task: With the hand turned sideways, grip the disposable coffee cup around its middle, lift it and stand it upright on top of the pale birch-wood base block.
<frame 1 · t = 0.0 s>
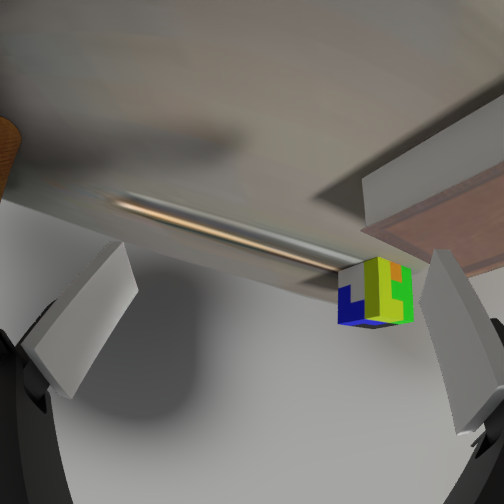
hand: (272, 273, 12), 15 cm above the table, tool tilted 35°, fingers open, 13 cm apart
puzzle toy: (375, 269, 55), on the table
disposable coffee cup: (2, 130, 25), on the table
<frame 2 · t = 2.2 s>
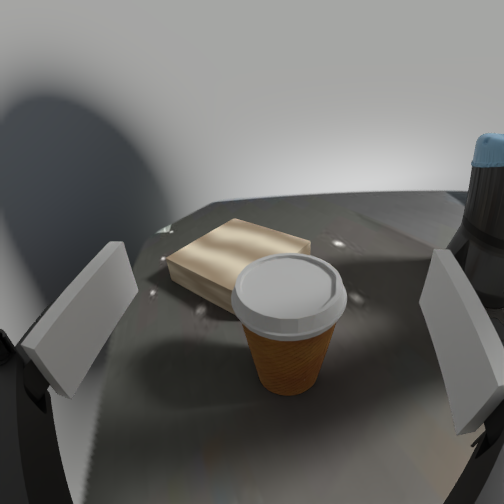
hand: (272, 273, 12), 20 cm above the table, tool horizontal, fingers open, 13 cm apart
disposable coffee cup: (288, 372, 31), on the table
wooden base block: (240, 272, 47), on the table
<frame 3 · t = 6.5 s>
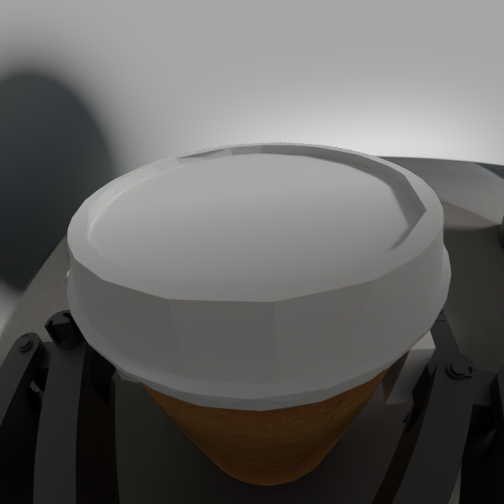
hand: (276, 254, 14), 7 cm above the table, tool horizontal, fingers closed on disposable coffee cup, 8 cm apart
disposable coffee cup: (268, 430, 13), on the table, touching gripper
when the fingers open (12 cm above the table, at t = 11.8 s): disposable coffee cup drops 1 cm, point 4 cm above the table.
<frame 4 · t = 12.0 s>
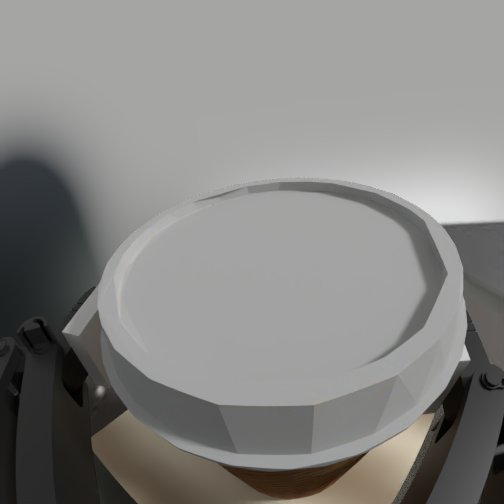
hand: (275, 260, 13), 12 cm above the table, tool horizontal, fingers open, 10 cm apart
disposable coffee cup: (292, 446, 14), point 4 cm above the table, touching gripper
wooden base block: (270, 462, 16), on the table
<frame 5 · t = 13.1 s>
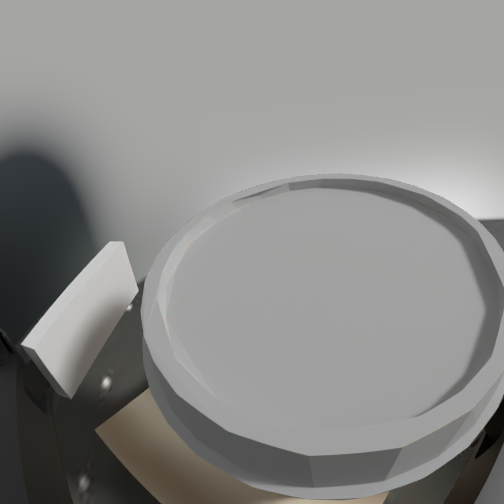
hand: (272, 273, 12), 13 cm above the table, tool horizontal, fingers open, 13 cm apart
disposable coffee cup: (322, 439, 14), point 4 cm above the table, touching gripper, wooden base block
wooden base block: (274, 449, 17), on the table
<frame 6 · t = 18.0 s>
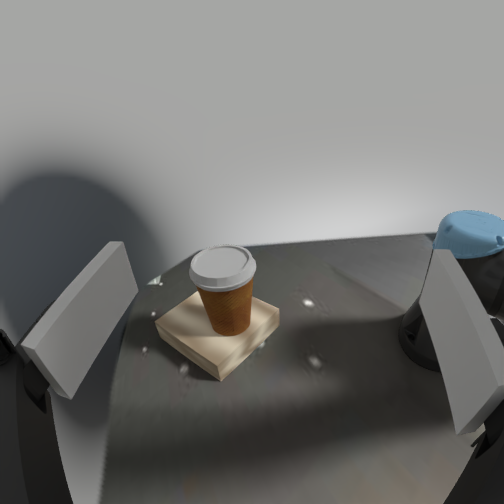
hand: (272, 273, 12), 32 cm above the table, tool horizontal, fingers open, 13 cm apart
disposable coffee cup: (231, 323, 50), point 4 cm above the table, touching wooden base block
wooden base block: (218, 332, 53), on the table
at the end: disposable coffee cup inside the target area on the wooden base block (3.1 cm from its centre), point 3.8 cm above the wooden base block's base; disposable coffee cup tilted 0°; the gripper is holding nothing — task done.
